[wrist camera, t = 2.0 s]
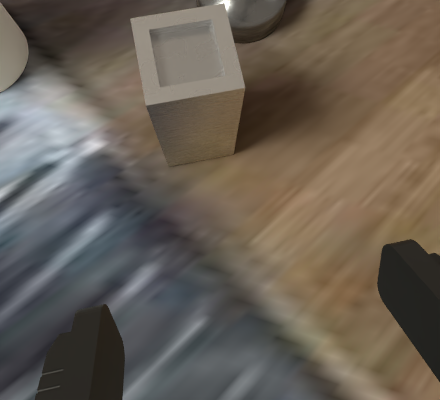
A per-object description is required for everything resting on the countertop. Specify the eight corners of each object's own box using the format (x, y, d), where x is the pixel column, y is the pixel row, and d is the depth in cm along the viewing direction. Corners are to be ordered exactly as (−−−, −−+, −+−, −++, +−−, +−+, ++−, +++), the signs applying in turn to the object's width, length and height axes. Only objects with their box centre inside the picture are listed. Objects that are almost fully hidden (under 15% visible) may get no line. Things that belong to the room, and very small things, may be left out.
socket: (157, 106, 28) (130, 18, 18) (220, 95, 28) (224, 3, 19) (168, 166, 27) (145, 105, 17) (233, 154, 27) (245, 87, 18)
